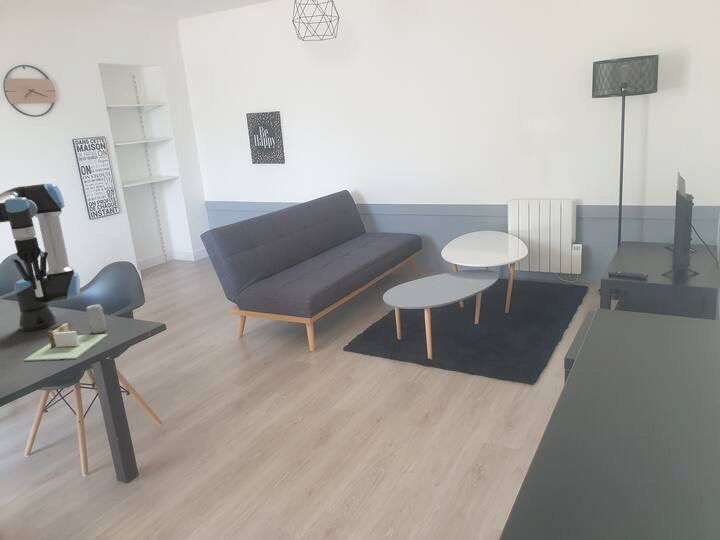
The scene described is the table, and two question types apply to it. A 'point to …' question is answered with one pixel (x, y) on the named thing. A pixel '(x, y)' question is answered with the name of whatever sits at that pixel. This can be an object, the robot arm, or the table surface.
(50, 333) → the fence fixed
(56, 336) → the panel
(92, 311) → the beverage can
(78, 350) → the card
